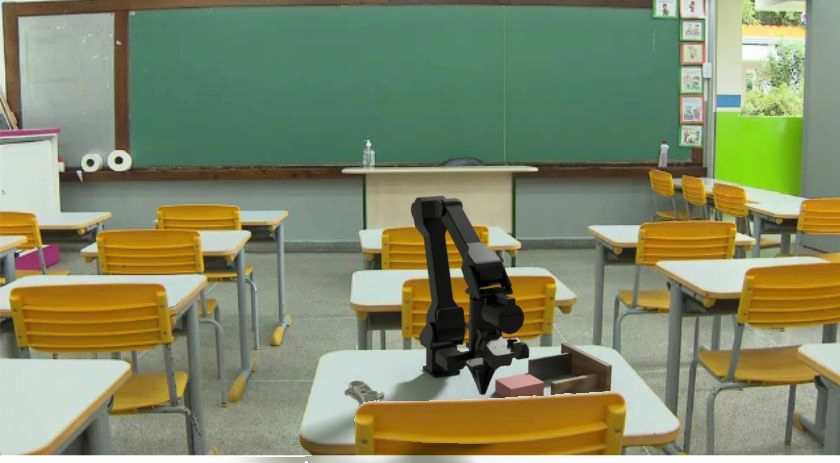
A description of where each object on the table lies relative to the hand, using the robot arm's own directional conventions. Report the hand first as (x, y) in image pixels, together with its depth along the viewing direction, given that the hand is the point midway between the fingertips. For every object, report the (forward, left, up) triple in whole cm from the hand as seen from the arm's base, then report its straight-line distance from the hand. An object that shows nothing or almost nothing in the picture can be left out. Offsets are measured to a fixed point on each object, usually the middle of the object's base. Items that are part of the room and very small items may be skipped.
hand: (482, 394), depth 153 cm
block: (+9, 0, -2) cm, 9 cm away
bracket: (-21, +10, -2) cm, 24 cm away
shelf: (+20, 0, -1) cm, 20 cm away
